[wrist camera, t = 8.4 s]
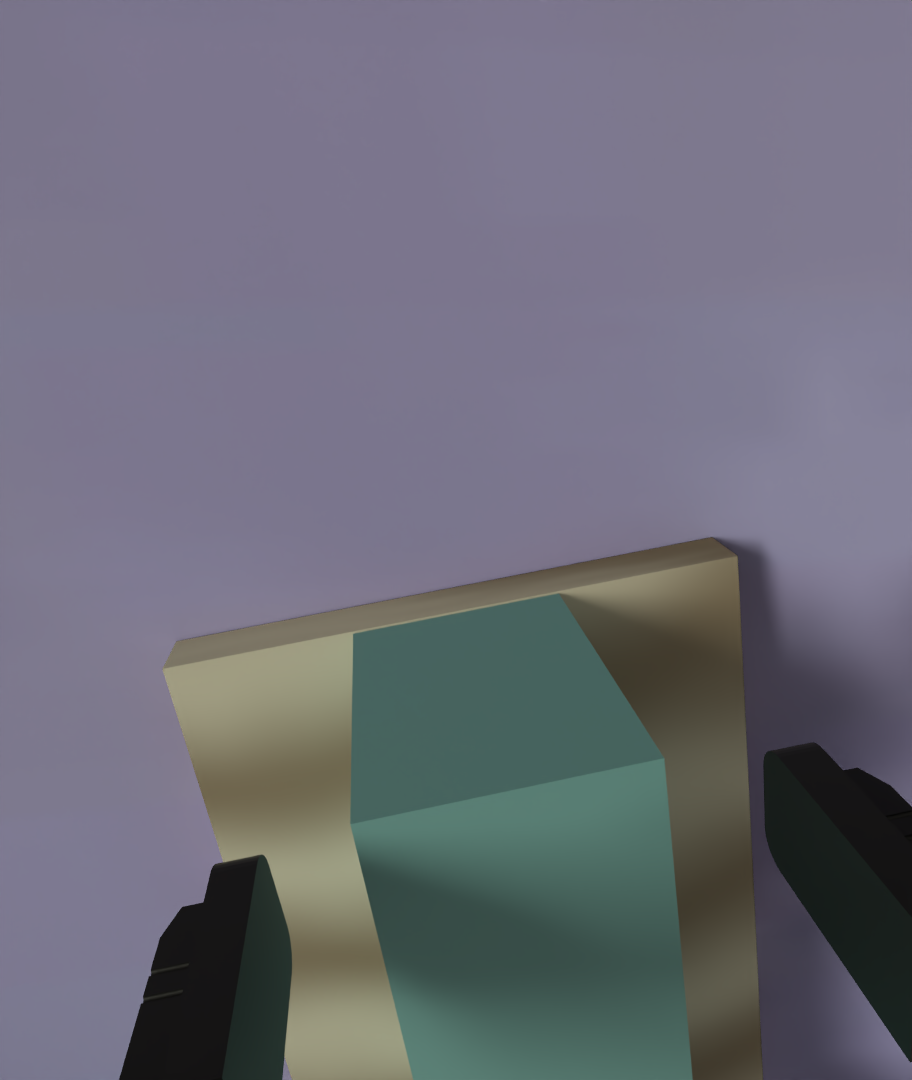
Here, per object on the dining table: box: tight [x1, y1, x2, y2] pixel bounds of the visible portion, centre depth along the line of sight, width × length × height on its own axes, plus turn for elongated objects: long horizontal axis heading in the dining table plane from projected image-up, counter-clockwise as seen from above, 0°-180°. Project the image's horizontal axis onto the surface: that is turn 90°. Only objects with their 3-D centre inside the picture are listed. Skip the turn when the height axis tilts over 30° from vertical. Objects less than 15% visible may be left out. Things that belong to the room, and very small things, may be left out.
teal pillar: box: [350, 593, 693, 1080], centre depth 19 cm, size 18×5×7 cm, turn 9°
